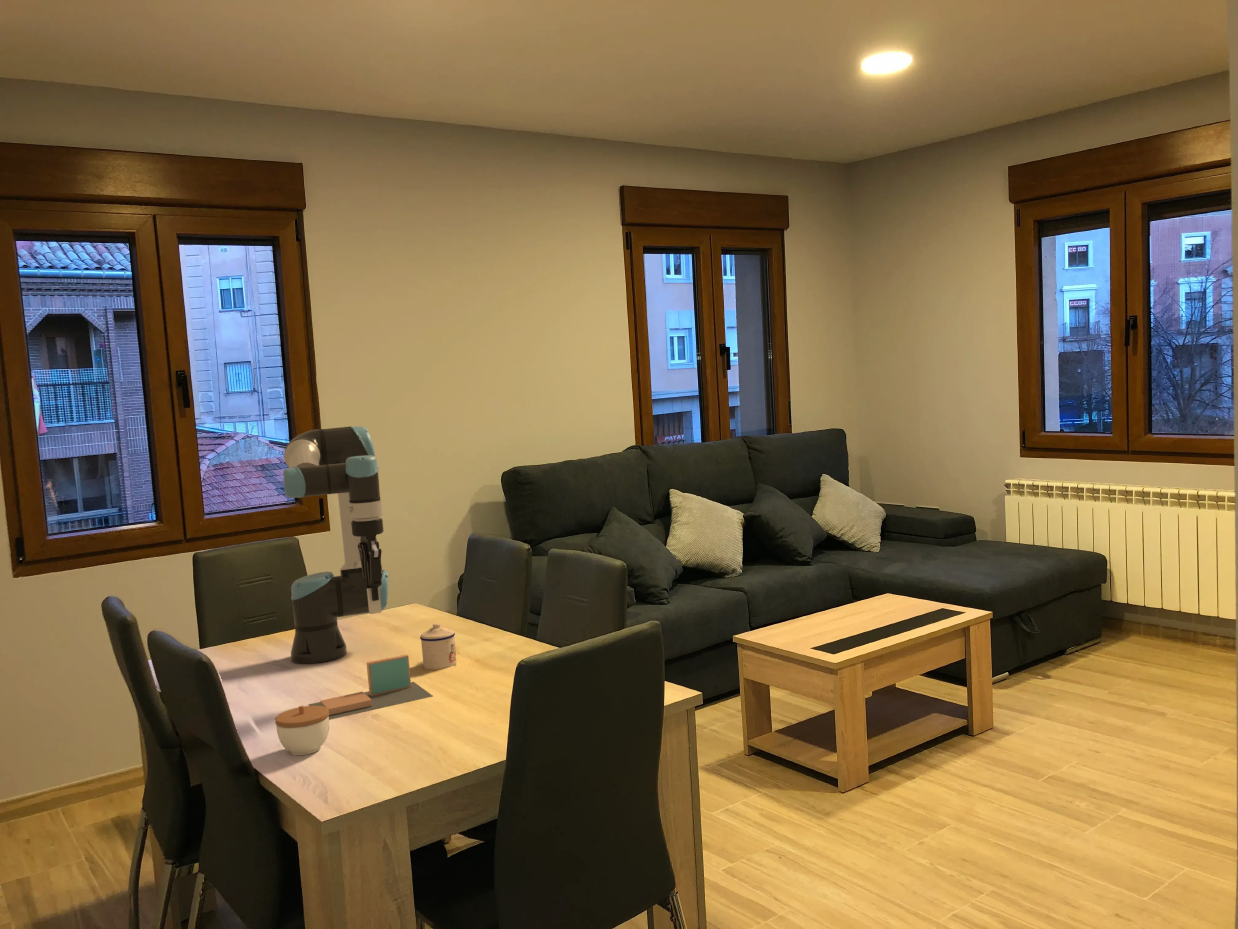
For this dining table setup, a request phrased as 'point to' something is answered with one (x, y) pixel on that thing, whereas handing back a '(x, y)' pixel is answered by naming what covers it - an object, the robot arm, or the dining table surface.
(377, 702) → the mat
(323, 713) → the lidded jar
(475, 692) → the dining table surface
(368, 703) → the tile near
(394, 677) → the tile far
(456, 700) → the dining table surface
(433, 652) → the teacup with lid
